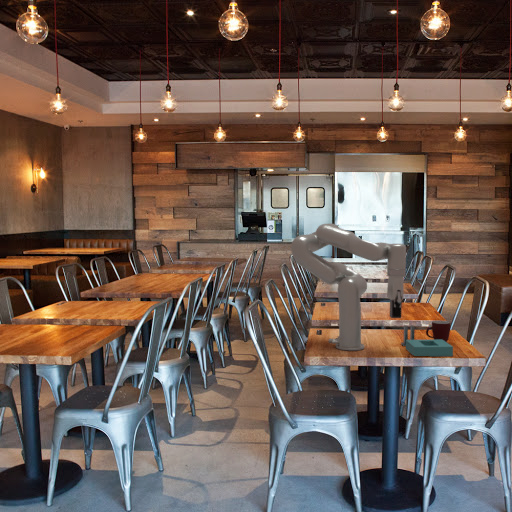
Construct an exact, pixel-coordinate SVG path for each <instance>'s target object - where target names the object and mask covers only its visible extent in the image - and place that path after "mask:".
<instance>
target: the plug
mask: <svg viewBox="0 0 512 512" xmlns="http://www.w3.org/2000/svg"><path fill="white" fill-rule="evenodd" d="M395 300H397V299H395ZM396 302H397V301H396ZM393 307H394V300H391V299H389V317H390V318H391V319H402V315H401V316H400V317H393ZM402 307H403V306H402V301H401V310H402Z"/></svg>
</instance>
